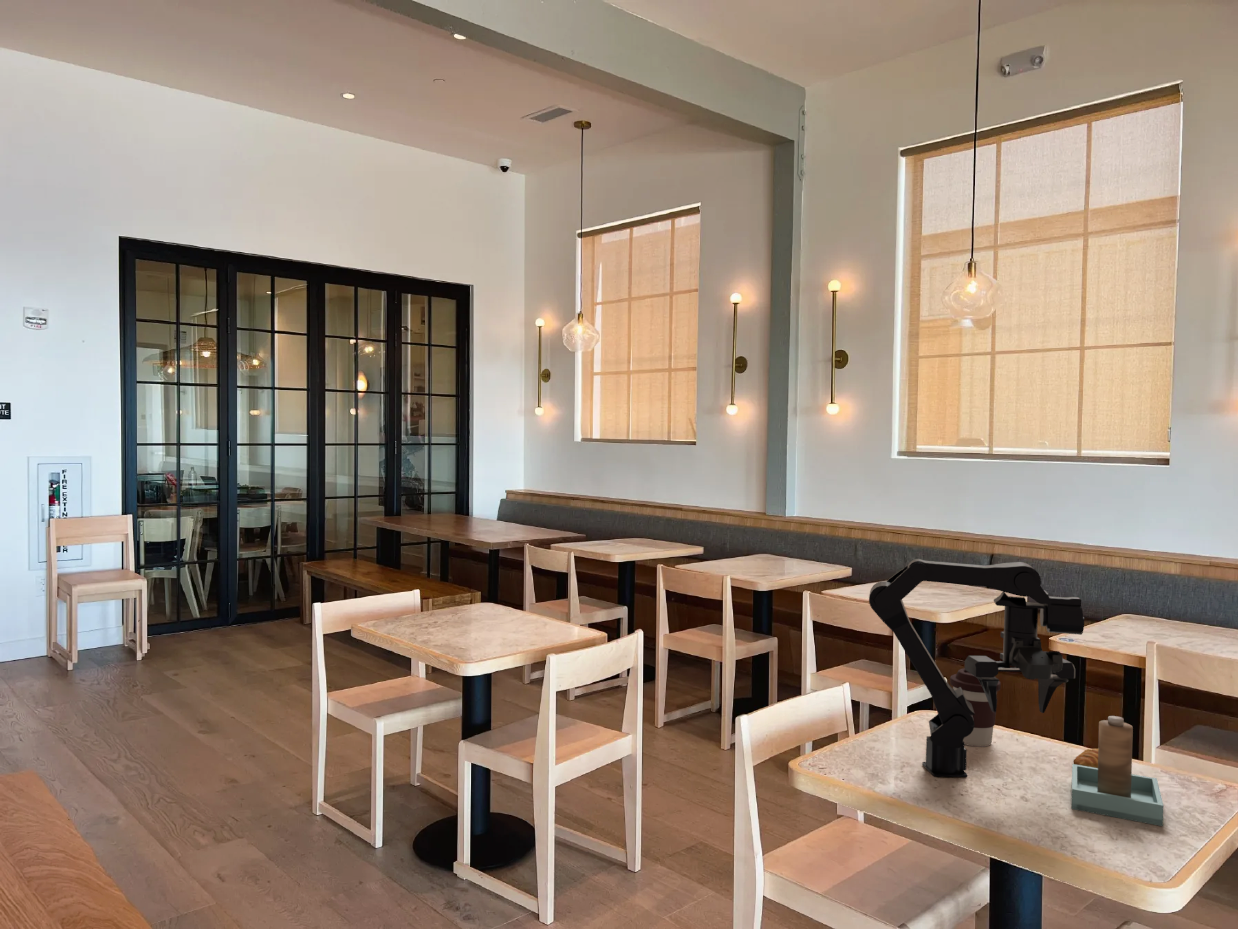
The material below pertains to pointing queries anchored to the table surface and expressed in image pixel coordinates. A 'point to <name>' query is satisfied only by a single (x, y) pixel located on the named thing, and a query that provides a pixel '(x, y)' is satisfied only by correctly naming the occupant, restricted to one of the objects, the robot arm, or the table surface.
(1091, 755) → the pastry
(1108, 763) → the pepper mill
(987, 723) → the coffee cup
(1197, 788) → the table surface
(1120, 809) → the tray
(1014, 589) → the robot arm
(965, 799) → the table surface
